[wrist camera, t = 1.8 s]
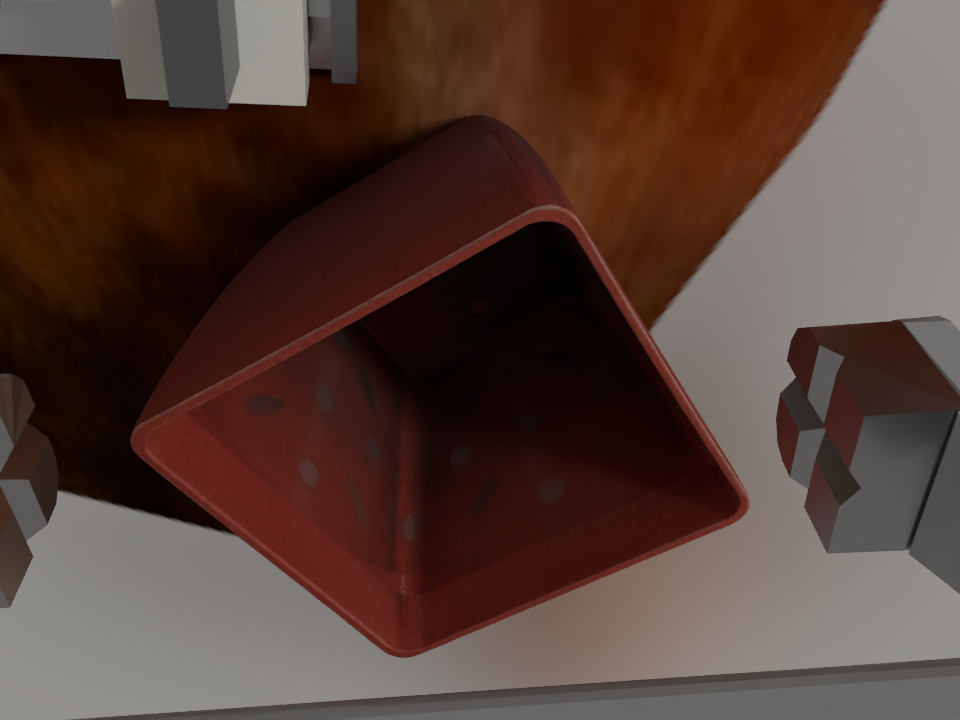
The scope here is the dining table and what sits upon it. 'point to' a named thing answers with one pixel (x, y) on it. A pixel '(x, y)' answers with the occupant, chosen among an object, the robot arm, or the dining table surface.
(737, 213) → the dining table surface
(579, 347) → the plant pot
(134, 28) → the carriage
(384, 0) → the dining table surface
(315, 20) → the rail
